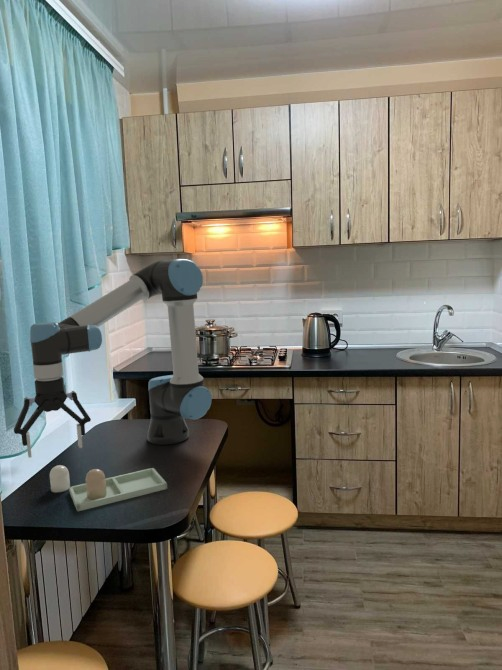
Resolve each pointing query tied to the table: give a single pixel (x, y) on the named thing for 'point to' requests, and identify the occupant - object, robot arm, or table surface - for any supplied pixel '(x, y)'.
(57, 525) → the table surface
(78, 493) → the green divided tray
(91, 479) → the egg brown
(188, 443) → the table surface
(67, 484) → the egg white
